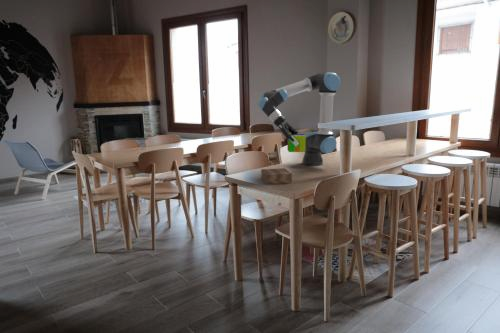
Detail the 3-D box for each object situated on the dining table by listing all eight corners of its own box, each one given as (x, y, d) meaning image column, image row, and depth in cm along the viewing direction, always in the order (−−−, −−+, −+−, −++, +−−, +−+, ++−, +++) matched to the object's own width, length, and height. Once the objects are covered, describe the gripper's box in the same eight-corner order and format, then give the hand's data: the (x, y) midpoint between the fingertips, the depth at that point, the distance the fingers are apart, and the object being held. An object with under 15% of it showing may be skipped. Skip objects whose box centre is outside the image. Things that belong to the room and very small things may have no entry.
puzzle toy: (303, 149, 253) (303, 133, 251) (305, 152, 244) (305, 136, 242) (287, 149, 253) (287, 133, 251) (288, 152, 244) (289, 135, 242)
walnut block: (284, 177, 249) (284, 168, 247) (291, 183, 234) (291, 173, 233) (261, 178, 246) (261, 169, 245) (266, 184, 232) (266, 174, 230)
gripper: (278, 120, 261) (300, 144, 259) (267, 124, 239) (290, 150, 237) (286, 113, 259) (308, 137, 256) (275, 115, 236) (299, 142, 234)
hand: (300, 143), depth 247 cm, fingers closed on puzzle toy, 12 cm apart
